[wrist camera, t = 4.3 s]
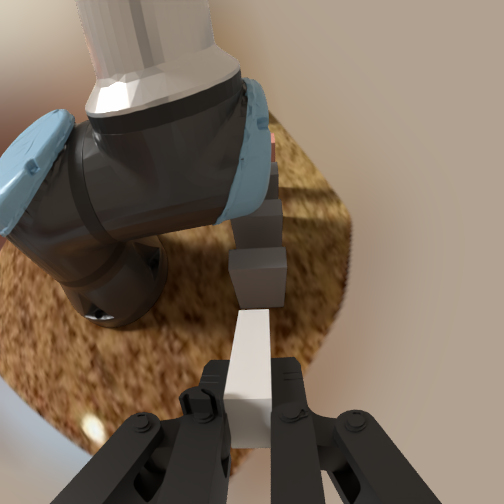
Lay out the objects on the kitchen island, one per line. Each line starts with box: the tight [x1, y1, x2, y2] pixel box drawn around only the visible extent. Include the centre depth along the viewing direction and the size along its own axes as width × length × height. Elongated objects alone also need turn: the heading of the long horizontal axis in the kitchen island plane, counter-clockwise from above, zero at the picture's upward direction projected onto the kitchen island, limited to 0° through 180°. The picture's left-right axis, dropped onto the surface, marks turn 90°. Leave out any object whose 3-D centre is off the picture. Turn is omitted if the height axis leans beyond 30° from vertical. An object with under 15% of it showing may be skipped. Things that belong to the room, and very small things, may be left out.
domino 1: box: [230, 199, 283, 249], centre depth 32 cm, size 2×5×10 cm, turn 91°
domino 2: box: [228, 247, 287, 309], centre depth 30 cm, size 2×5×10 cm, turn 90°
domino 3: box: [264, 162, 278, 200], centre depth 35 cm, size 2×5×10 cm, turn 91°
